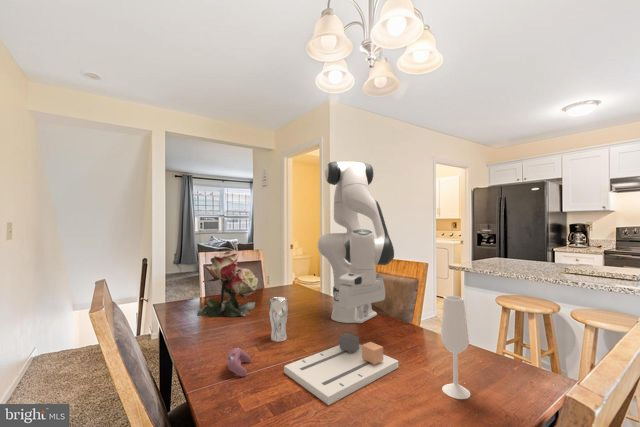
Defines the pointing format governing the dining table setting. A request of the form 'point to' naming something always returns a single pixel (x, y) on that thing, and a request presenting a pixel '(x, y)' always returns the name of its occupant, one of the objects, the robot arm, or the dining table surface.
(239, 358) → the video game controller
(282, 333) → the beer glass
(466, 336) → the champagne flute
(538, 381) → the dining table surface
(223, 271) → the rose bouquet
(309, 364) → the fader panel
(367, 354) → the block
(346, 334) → the block
